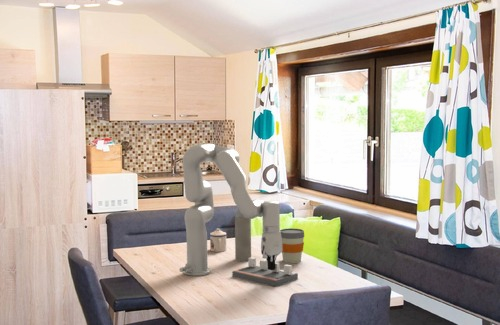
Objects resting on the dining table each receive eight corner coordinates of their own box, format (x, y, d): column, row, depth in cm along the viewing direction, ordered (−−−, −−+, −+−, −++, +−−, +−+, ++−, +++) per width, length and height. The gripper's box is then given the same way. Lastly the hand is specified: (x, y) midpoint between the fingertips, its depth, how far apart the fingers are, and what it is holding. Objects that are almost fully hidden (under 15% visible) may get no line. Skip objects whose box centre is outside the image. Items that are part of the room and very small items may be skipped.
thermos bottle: (236, 257, 323) (235, 203, 321) (251, 257, 323) (251, 203, 320) (234, 261, 315) (233, 205, 313) (250, 261, 315) (249, 205, 312)
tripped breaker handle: (276, 272, 283) (276, 263, 283) (271, 271, 285) (271, 262, 285) (279, 271, 285) (279, 263, 285) (274, 270, 287) (274, 261, 286)
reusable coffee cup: (289, 256, 325) (288, 227, 324) (309, 259, 317) (309, 230, 316) (274, 261, 316) (274, 231, 314) (294, 264, 308) (294, 234, 306)
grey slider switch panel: (275, 286, 271) (275, 271, 270) (232, 276, 287) (232, 262, 287) (297, 278, 283) (297, 264, 282) (255, 269, 299) (255, 255, 299)
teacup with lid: (209, 248, 344) (208, 227, 343) (225, 247, 345) (225, 226, 344) (211, 253, 332) (211, 231, 331) (228, 252, 333) (228, 231, 332)
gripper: (266, 232, 273) (267, 274, 275) (288, 227, 284) (288, 267, 286) (253, 230, 278) (254, 271, 280) (275, 225, 289) (275, 264, 291)
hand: (271, 269), depth 283 cm, fingers closed
